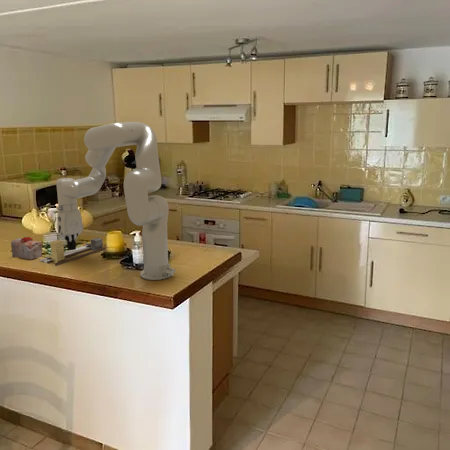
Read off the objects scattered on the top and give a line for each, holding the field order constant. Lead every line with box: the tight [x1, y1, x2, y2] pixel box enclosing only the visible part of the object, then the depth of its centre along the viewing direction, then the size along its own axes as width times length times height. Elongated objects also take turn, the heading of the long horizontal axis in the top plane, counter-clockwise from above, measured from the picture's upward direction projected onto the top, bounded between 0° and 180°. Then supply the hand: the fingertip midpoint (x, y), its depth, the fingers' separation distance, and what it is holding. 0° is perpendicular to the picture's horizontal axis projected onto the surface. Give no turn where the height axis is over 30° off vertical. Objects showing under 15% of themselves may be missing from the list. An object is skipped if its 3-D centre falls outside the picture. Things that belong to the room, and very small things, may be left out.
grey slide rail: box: [39, 237, 107, 267], centre depth 203 cm, size 12×30×6 cm, turn 147°
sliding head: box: [46, 239, 66, 264], centre depth 194 cm, size 9×4×9 cm, turn 57°
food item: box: [10, 236, 43, 261], centre depth 201 cm, size 14×8×10 cm, turn 64°
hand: (71, 249), depth 198 cm, fingers closed
